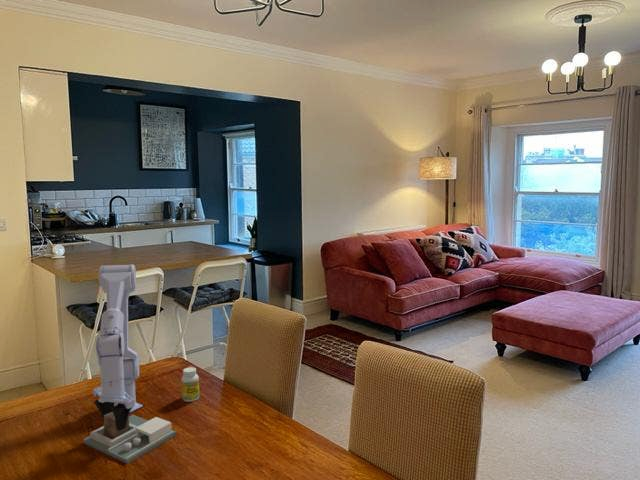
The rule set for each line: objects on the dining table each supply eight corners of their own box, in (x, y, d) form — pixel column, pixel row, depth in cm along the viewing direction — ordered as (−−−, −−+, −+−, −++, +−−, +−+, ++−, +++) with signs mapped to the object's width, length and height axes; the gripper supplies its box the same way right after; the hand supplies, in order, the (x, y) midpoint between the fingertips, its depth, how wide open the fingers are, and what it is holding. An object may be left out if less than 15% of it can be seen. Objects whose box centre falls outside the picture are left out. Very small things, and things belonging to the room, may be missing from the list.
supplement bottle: (196, 393, 164) (195, 365, 163) (202, 399, 160) (201, 370, 158) (179, 397, 161) (178, 368, 160) (185, 403, 157) (184, 374, 155)
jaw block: (104, 436, 136) (103, 415, 135) (118, 430, 140) (118, 409, 139) (114, 441, 134) (114, 419, 133) (129, 434, 137) (128, 413, 137)
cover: (135, 437, 135) (135, 427, 135) (156, 426, 141) (156, 416, 141) (151, 443, 132) (150, 433, 132) (171, 432, 138) (171, 422, 138)
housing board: (83, 442, 134) (82, 434, 134) (133, 417, 148) (132, 409, 148) (127, 463, 125) (126, 454, 125) (176, 434, 139) (176, 426, 138)
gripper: (81, 377, 134) (85, 425, 136) (117, 390, 127) (119, 440, 129) (105, 368, 140) (108, 414, 142) (140, 380, 133) (142, 428, 135)
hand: (115, 426), depth 136 cm, fingers open, 5 cm apart
